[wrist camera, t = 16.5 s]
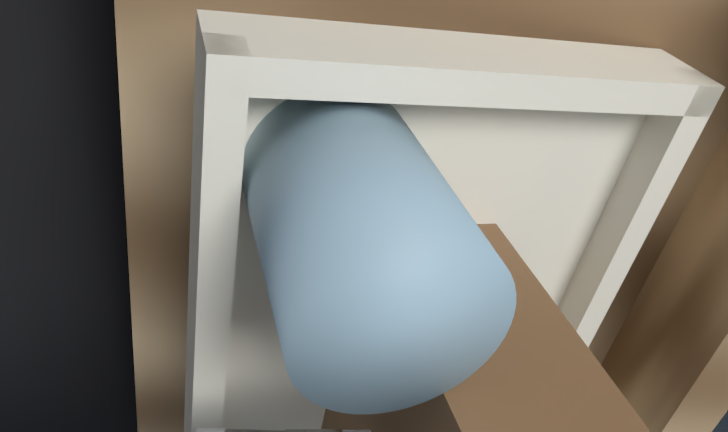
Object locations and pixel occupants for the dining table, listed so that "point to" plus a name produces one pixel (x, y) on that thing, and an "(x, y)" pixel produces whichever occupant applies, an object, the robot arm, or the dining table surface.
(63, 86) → the dining table surface
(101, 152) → the dining table surface
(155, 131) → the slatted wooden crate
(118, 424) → the dining table surface
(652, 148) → the caddy tray
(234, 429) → the robot arm
